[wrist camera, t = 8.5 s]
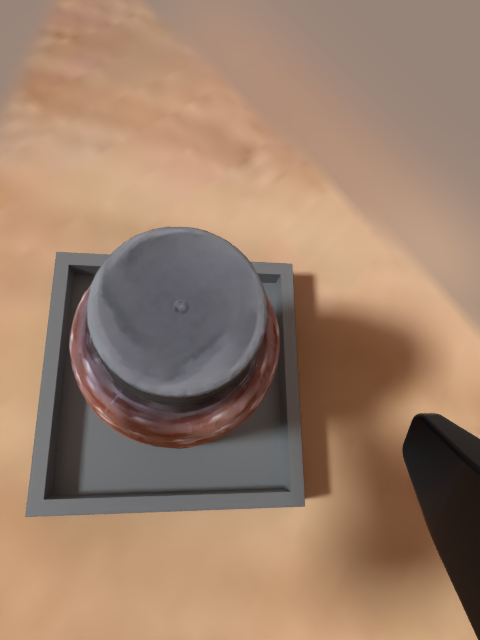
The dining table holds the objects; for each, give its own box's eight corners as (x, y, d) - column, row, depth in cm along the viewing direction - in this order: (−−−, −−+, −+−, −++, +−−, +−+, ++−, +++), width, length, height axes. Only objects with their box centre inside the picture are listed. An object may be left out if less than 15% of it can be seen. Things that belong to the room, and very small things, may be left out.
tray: (293, 501, 20) (305, 506, 18) (39, 510, 18) (25, 517, 16) (283, 277, 23) (292, 263, 21) (65, 267, 21) (56, 252, 20)
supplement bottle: (261, 362, 21) (358, 273, 10) (196, 474, 19) (232, 511, 8) (157, 299, 21) (144, 144, 10) (82, 404, 19) (-30, 349, 8)
